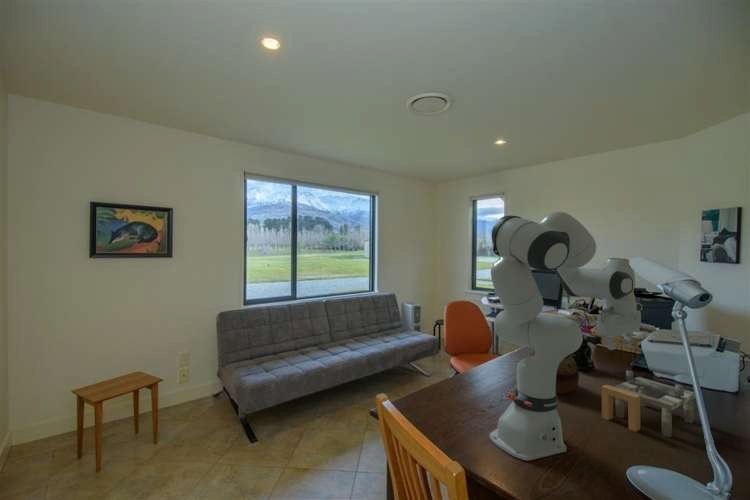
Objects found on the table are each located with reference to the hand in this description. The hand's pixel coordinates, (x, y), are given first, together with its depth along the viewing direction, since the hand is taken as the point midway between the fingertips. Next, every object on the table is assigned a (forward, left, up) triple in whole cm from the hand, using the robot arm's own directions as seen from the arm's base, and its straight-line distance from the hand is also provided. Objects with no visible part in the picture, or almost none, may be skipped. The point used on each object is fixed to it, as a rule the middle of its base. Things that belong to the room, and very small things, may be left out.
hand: (619, 347), depth 109 cm
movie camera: (+39, +42, -26) cm, 63 cm away
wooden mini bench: (0, 0, -26) cm, 26 cm away
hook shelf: (+13, -4, -26) cm, 29 cm away
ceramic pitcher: (+7, +29, -26) cm, 39 cm away
